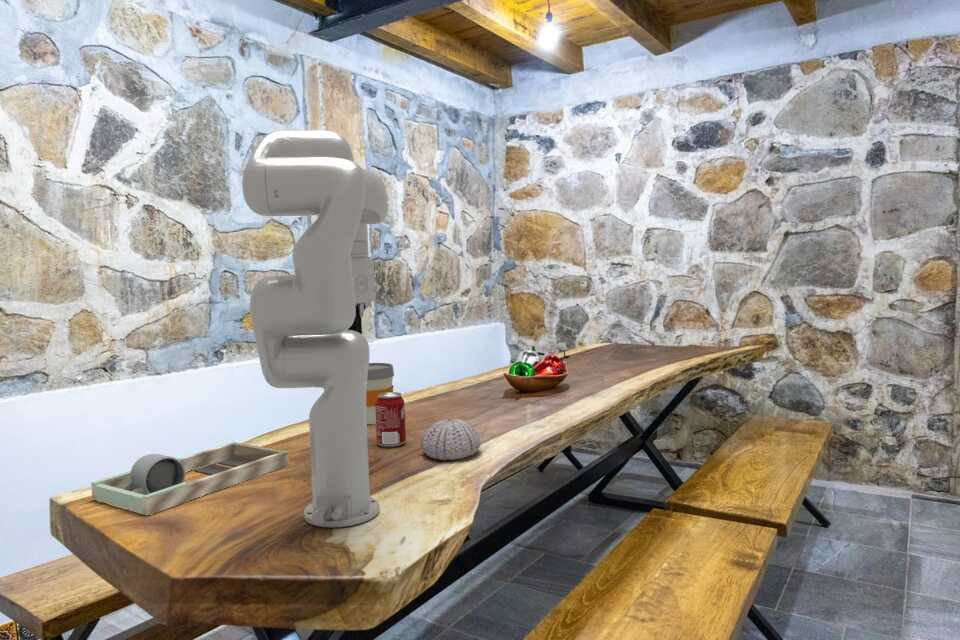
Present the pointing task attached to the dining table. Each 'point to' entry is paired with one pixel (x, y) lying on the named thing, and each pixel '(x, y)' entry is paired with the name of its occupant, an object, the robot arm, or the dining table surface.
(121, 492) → the shallow mint tray
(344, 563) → the dining table surface
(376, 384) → the reusable coffee cup
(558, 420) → the dining table surface
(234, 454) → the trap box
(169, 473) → the ceramic mug
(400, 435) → the soda can
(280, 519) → the dining table surface
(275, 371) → the robot arm
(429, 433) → the sea urchin shell
